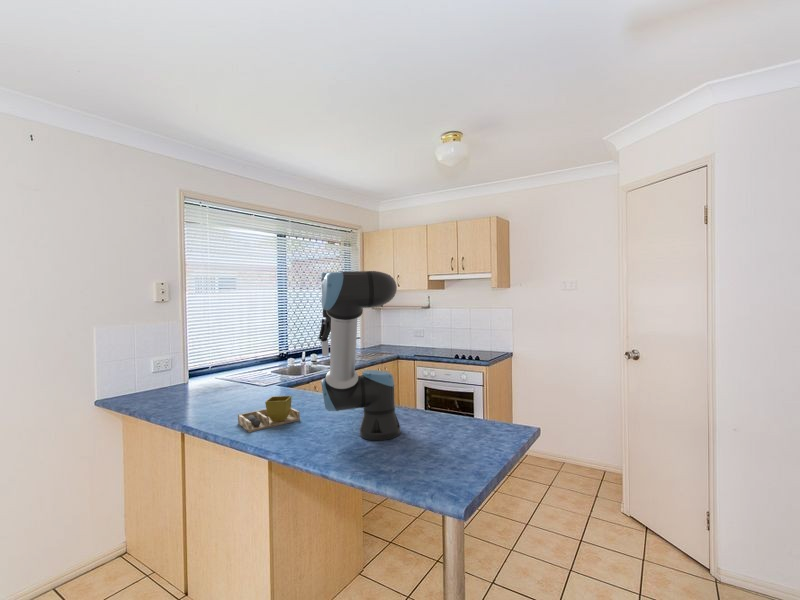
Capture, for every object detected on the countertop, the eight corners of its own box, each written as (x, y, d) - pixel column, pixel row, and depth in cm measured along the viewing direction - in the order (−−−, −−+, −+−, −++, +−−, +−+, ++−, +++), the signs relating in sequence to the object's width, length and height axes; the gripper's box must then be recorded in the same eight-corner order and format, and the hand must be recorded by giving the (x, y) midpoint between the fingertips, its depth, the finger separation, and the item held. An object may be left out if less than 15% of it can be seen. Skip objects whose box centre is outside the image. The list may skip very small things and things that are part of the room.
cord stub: (261, 426, 160) (261, 419, 160) (254, 427, 158) (254, 420, 158) (253, 420, 168) (252, 413, 168) (246, 421, 167) (246, 415, 167)
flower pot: (265, 423, 163) (264, 401, 163) (272, 416, 172) (271, 396, 172) (286, 422, 163) (285, 400, 163) (292, 416, 172) (291, 395, 172)
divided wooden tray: (299, 420, 168) (299, 411, 168) (249, 432, 155) (248, 422, 155) (286, 413, 180) (285, 404, 180) (238, 423, 167) (237, 414, 167)
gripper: (354, 306, 164) (356, 358, 164) (324, 308, 183) (326, 354, 183) (338, 307, 159) (341, 360, 159) (309, 308, 178) (311, 356, 178)
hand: (333, 357), depth 171 cm, fingers open, 13 cm apart
